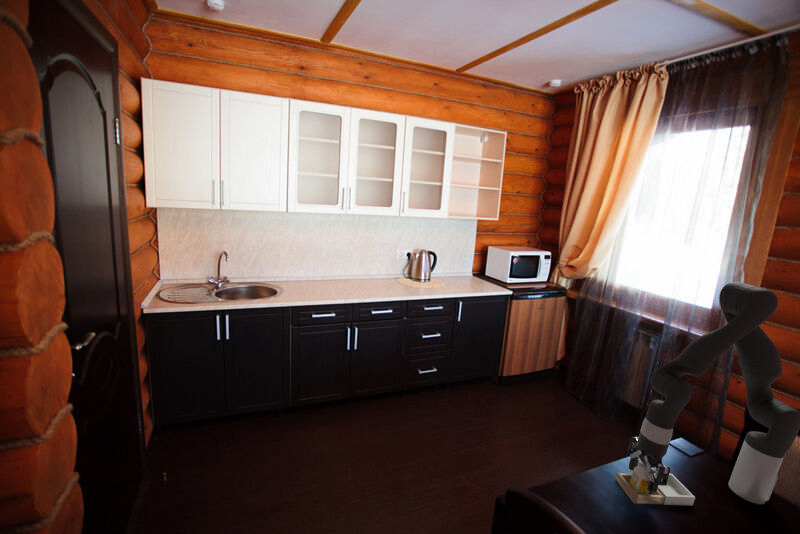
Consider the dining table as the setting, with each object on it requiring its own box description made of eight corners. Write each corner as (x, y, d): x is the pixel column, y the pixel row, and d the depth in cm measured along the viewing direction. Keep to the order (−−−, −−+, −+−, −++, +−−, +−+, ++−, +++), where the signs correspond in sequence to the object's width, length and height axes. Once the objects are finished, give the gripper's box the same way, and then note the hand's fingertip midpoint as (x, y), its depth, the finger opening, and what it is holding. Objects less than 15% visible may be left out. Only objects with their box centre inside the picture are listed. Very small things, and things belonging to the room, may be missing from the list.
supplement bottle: (625, 489, 119) (633, 463, 116) (632, 482, 122) (639, 456, 120) (644, 501, 115) (652, 475, 112) (650, 493, 118) (658, 467, 116)
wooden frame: (641, 480, 123) (643, 474, 123) (662, 504, 114) (664, 497, 114) (615, 479, 122) (617, 472, 122) (634, 503, 114) (636, 496, 113)
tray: (669, 481, 124) (671, 473, 124) (692, 505, 115) (695, 497, 114) (642, 480, 123) (644, 472, 123) (663, 504, 114) (666, 496, 114)
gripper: (685, 452, 107) (669, 499, 111) (650, 420, 121) (637, 463, 125) (661, 451, 106) (645, 498, 110) (628, 419, 120) (615, 462, 124)
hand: (641, 479), depth 117 cm, fingers open, 8 cm apart
